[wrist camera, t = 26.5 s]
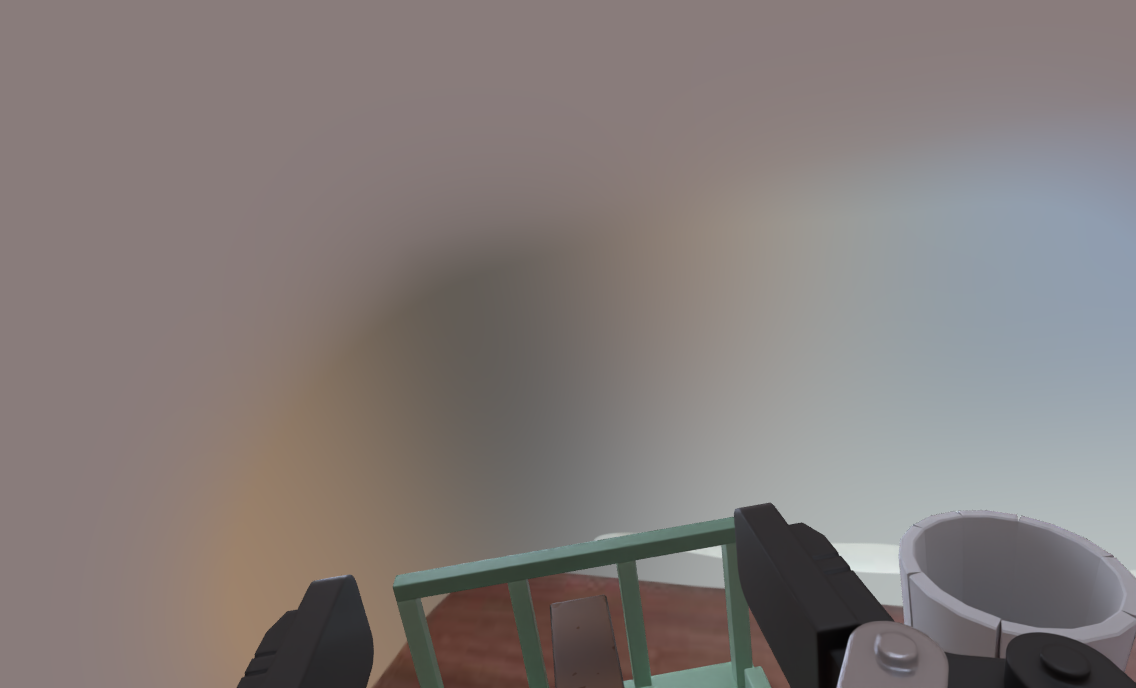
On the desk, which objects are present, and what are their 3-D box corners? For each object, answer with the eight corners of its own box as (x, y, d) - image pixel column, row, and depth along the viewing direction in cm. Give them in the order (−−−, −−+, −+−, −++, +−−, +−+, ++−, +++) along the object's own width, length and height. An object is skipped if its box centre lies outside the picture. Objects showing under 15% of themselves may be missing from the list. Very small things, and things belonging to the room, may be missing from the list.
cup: (1189, 801, 28) (1235, 585, 24) (1111, 953, 24) (1153, 715, 20) (948, 663, 37) (957, 489, 33) (858, 755, 32) (856, 565, 29)
